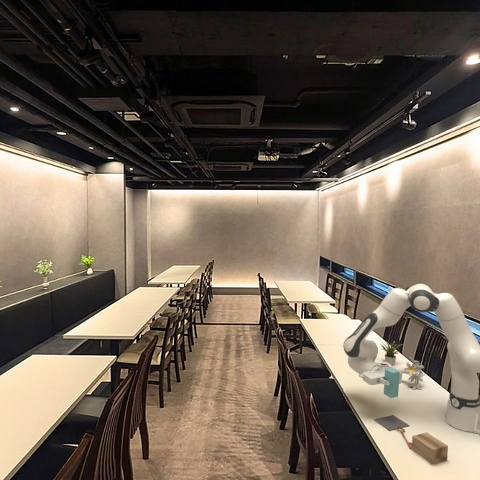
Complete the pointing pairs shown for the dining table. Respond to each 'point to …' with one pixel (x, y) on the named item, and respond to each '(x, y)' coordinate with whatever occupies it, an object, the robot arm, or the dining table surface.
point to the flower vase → (410, 370)
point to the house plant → (390, 353)
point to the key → (404, 437)
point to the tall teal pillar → (392, 382)
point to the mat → (391, 422)
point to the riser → (429, 448)
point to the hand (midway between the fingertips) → (394, 383)
